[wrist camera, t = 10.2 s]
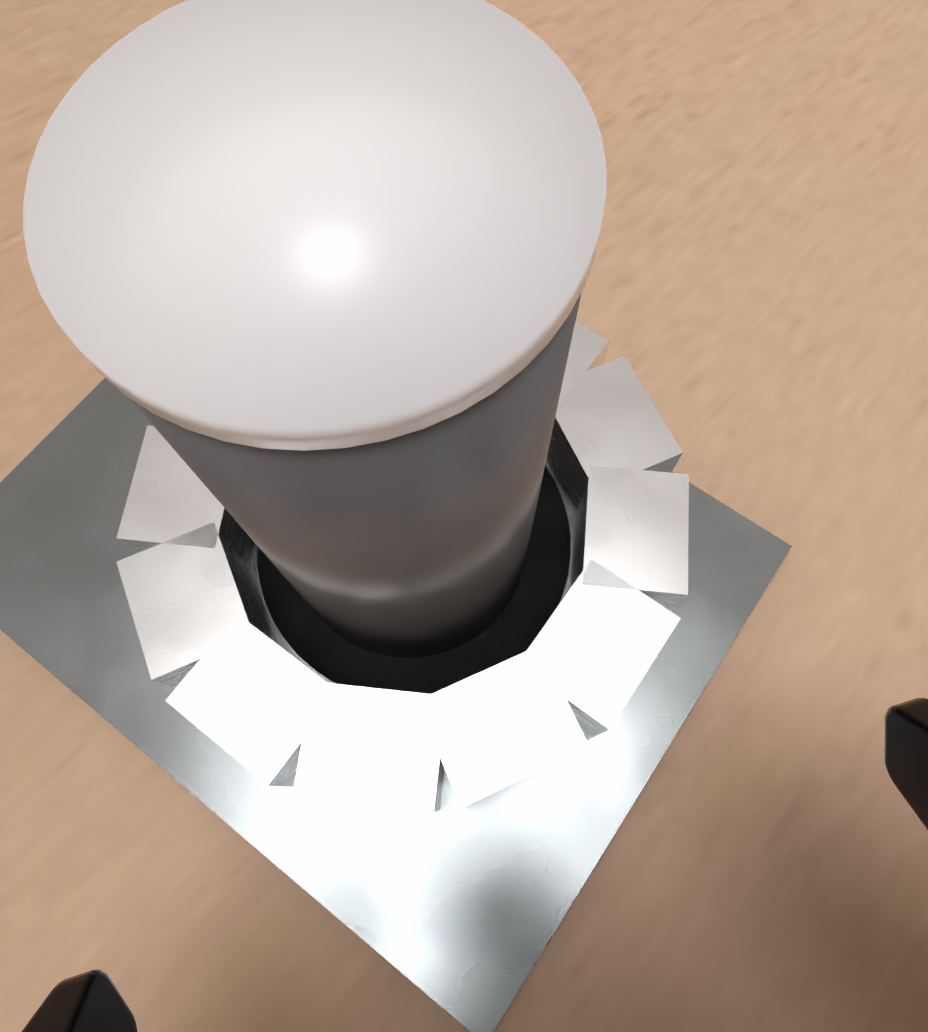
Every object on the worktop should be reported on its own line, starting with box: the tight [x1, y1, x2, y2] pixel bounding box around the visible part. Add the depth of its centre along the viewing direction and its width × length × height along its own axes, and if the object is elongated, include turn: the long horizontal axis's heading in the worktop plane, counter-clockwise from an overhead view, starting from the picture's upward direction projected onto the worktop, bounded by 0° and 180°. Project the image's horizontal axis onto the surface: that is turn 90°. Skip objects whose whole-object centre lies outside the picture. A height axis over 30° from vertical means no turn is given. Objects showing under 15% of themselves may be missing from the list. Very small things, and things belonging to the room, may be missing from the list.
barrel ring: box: [0, 321, 791, 1032], centre depth 17 cm, size 16×13×3 cm
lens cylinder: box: [23, 0, 606, 658], centre depth 12 cm, size 5×5×11 cm
